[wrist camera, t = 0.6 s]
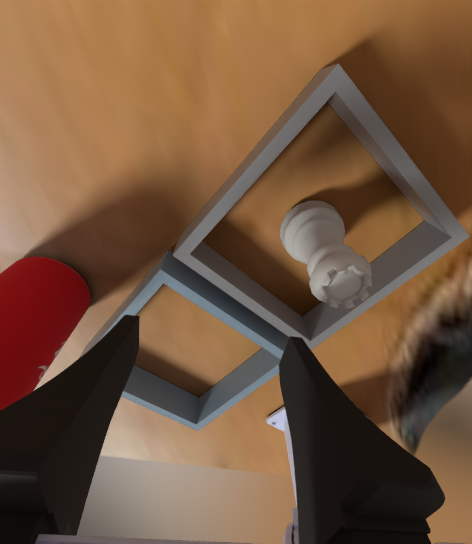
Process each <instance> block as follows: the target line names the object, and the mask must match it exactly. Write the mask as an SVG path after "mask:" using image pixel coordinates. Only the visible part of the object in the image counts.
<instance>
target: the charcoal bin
mask: <svg viewBox="0 0 472 544" xmlns="http://www.w3.org/2000/svg"><path fill="white" fill-rule="evenodd" d="M326 102H328V104H329V105H330V106H331V107H332V108H333V110H334V111H335V112H336V113H337V115H338V116H339V117H340V118H341V119H342V121H343V122H344V123H345V124H346V125H347V127H348V128H349V129H350V130H351V132H352V133H353V134H354V135H355V136H356V138H357V139H358V140H359V141H360V142H361V144H362V145H363V146H364V147H365V149H366V150H367V151H368V152H369V153H370V155H371V156H372V157H373V158H374V159H375V161H376V162H377V163H378V164H379V165H380V167H381V168H382V169H383V170H384V172H385V173H386V174H387V175H388V176H389V178H390V179H391V180H392V181H393V182H394V184H395V185H396V186H397V187H398V189H399V190H400V191H401V192H402V193H403V195H404V196H405V197H406V198H407V199H408V201H409V202H410V203H411V204H412V206H413V207H414V208H415V209H416V210H417V212H418V213H419V214H420V215H421V216H422V218H423V219H424V220H425V221H424V222H422V223H421V224H420V225H419V226H417V227H416V228H415V229H413V230H412V231H411V232H410V233H408V234H407V235H406V236H404V237H403V238H402V239H401V240H399V241H398V242H397V243H396V244H394V245H393V246H392V247H390V248H389V249H388V250H387V251H385V252H384V253H383V254H382V255H380V256H379V257H378V258H376V259H375V260H374V261H373V262H371V263H370V265H371V271H372V276H371V279H372V286H371V287H367V288H366V290H367V291H368V293H369V294H370V295H369V296H368V297H367V298H366V299H365V301H362V300H361V299H360V298H359V297H358V298H357V299H355V300H353V303H354V305H355V307H353V308H349V309H345V307H344V305H343V304H339V306H338V307H337V309H335V308H332V307H329V306H328V304H327V303H326V302H323V301H322V302H320V303H319V304H318V305H317V306H315V307H314V308H313V309H311V310H310V311H309V312H308V313H306V314H305V315H304V316H301V315H299V314H298V313H297V312H295V311H294V310H293V309H291V308H290V307H289V306H287V305H286V304H285V303H283V302H282V301H281V300H279V299H278V298H277V297H275V296H274V295H273V294H271V293H270V292H269V291H267V290H266V289H265V288H263V287H262V286H261V285H260V284H258V283H257V282H256V281H254V280H253V279H252V278H250V277H249V276H248V275H246V274H245V273H244V272H242V271H241V270H240V269H238V268H237V267H236V266H234V265H233V264H232V263H230V262H229V261H228V260H226V259H225V258H224V257H222V256H221V255H220V254H218V253H217V252H216V251H214V250H213V249H212V248H211V247H209V246H208V245H207V244H205V243H204V242H203V241H202V240H203V239H204V238H205V237H206V235H207V234H208V233H209V232H210V231H211V230H212V229H213V228H214V227H215V225H216V224H217V223H218V222H219V221H220V220H221V219H222V218H223V217H224V215H225V214H226V213H227V212H228V211H229V210H230V209H231V208H232V206H233V205H234V204H235V203H236V202H237V201H238V200H239V199H240V198H241V196H242V195H243V194H244V193H245V192H246V191H247V190H248V189H249V188H250V186H251V185H252V184H253V183H254V182H255V181H256V180H257V179H258V177H259V176H260V175H261V174H262V173H263V172H264V171H265V170H266V169H267V167H268V166H269V165H270V164H271V163H272V162H273V161H274V160H275V159H276V157H277V156H278V155H279V154H280V153H281V152H282V151H283V150H284V149H285V147H286V146H287V145H288V144H289V143H290V142H291V141H292V140H293V138H294V137H295V136H296V135H297V134H298V133H299V132H300V131H301V130H302V128H303V127H304V126H305V125H306V124H307V123H308V122H309V121H310V120H311V118H312V117H313V116H314V115H315V114H316V113H317V112H318V111H319V109H320V108H321V107H322V106H323V105H324V104H325V103H326ZM468 237H470V236H469V235H468V233H467V232H466V231H465V229H464V228H463V227H462V225H461V224H460V223H459V221H458V220H457V219H456V218H455V216H454V215H453V214H452V212H451V211H450V210H449V208H448V207H447V206H446V204H445V203H444V202H443V200H442V199H441V198H440V196H439V195H438V194H437V192H436V191H435V190H434V189H433V187H432V186H431V185H430V183H429V182H428V181H427V179H426V178H425V177H424V175H423V174H422V173H421V171H420V170H419V169H418V167H417V166H416V165H415V163H414V162H413V161H412V160H411V158H410V157H409V156H408V154H407V153H406V152H405V150H404V149H403V148H402V146H401V145H400V144H399V142H398V141H397V140H396V138H395V137H394V136H393V134H392V133H391V132H390V131H389V129H388V128H387V127H386V125H385V124H384V123H383V121H382V120H381V119H380V117H379V116H378V115H377V113H376V112H375V111H374V109H373V108H372V107H371V105H370V104H369V103H368V102H367V100H366V99H365V98H364V96H363V95H362V94H361V92H360V91H359V90H358V88H357V87H356V86H355V84H354V83H353V82H352V80H351V79H350V78H349V76H348V75H347V74H346V73H345V71H344V70H343V69H342V67H341V66H340V65H339V63H338V64H335V65H332V66H329V67H325V68H322V69H321V70H320V71H319V72H318V73H317V74H316V76H315V77H314V78H313V79H312V80H311V81H310V83H309V84H308V85H307V86H306V87H305V89H304V90H303V91H302V92H301V93H300V94H299V96H298V97H297V98H296V99H295V100H294V102H293V103H292V104H291V105H290V106H289V107H288V109H287V110H286V111H285V112H284V113H283V115H282V116H281V117H280V118H279V119H278V120H277V122H276V123H275V124H274V125H273V126H272V128H271V129H270V130H269V131H268V132H267V133H266V135H265V136H264V137H263V138H262V139H261V141H260V142H259V143H258V144H257V145H256V146H255V148H254V149H253V150H252V151H251V152H250V153H249V155H248V156H247V157H246V158H245V159H244V161H243V162H242V163H241V164H240V165H239V166H238V168H237V169H236V170H235V171H234V172H233V174H232V175H231V176H230V177H229V178H228V179H227V181H226V182H225V183H224V184H223V185H222V187H221V188H220V189H219V190H218V191H217V192H216V194H215V195H214V196H213V197H212V198H211V200H210V201H209V202H208V203H207V204H206V205H205V207H204V208H203V209H202V210H201V211H200V213H199V214H198V215H197V216H196V217H195V218H194V220H193V221H192V222H191V223H190V224H189V226H188V227H187V228H186V229H185V230H184V231H183V233H182V234H181V235H180V236H179V239H178V241H177V244H176V247H175V250H174V252H173V256H174V257H176V258H177V259H178V260H180V261H181V262H183V263H184V264H186V265H187V266H188V267H190V268H191V269H193V270H194V271H196V272H197V273H198V274H200V275H201V276H203V277H204V278H206V279H207V280H208V281H210V282H211V283H213V284H214V285H216V286H217V287H218V288H220V289H221V290H223V291H224V292H226V293H227V294H228V295H230V296H231V297H233V298H234V299H236V300H237V301H238V302H240V303H241V304H243V305H244V306H246V307H247V308H248V309H250V310H251V311H253V312H254V313H256V314H257V315H258V316H260V317H261V318H263V319H264V320H266V321H267V322H268V323H270V324H271V325H273V326H274V327H276V328H277V329H278V330H280V331H281V332H283V333H284V334H286V335H287V336H288V337H290V336H293V337H301V338H303V340H304V341H305V343H306V344H307V346H308V347H309V348H310V350H312V349H313V348H314V347H316V346H317V345H319V344H320V343H321V342H323V341H324V340H326V339H327V338H328V337H330V336H331V335H333V334H334V333H335V332H337V331H338V330H340V329H341V328H342V327H344V326H345V325H347V324H348V323H349V322H351V321H352V320H354V319H355V318H356V317H358V316H359V315H361V314H362V313H363V312H365V311H366V310H368V309H369V308H370V307H372V306H373V305H375V304H376V303H377V302H379V301H380V300H382V299H383V298H384V297H386V296H387V295H389V294H390V293H391V292H393V291H394V290H396V289H397V288H398V287H400V286H401V285H403V284H404V283H405V282H407V281H408V280H410V279H411V278H412V277H414V276H415V275H416V274H418V273H419V272H421V271H422V270H423V269H425V268H426V267H428V266H429V265H430V264H432V263H433V262H435V261H436V260H437V259H439V258H440V257H442V256H443V255H444V254H446V253H447V252H449V251H450V250H451V249H453V248H454V247H456V246H457V245H458V244H460V243H461V242H463V241H464V240H465V239H467V238H468Z"/></svg>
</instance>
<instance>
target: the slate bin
mask: <svg viewBox="0 0 472 544" xmlns="http://www.w3.org/2000/svg"><path fill="white" fill-rule="evenodd" d="M163 283H164V284H166V285H167V286H169V287H170V288H172V289H173V290H175V291H176V292H178V293H179V294H181V295H182V296H184V297H186V298H187V299H189V300H190V301H192V302H193V303H195V304H196V305H198V306H199V307H201V308H202V309H204V310H206V311H207V312H209V313H210V314H212V315H213V316H215V317H216V318H218V319H219V320H221V321H222V322H224V323H226V324H227V325H229V326H230V327H232V328H233V329H235V330H236V331H238V332H239V333H241V334H243V335H244V336H246V337H247V338H249V339H250V340H252V341H253V342H255V343H256V344H258V345H259V346H261V347H263V348H262V349H260V350H259V351H258V352H257V353H255V354H254V355H253V356H252V357H250V358H249V359H248V360H246V361H245V362H244V363H243V364H241V365H240V366H239V367H237V368H236V369H235V370H234V371H232V372H231V373H230V374H229V375H227V376H226V377H225V378H223V379H222V380H221V381H220V382H218V383H217V384H216V385H215V386H213V387H212V388H211V389H209V390H208V391H207V392H206V393H204V394H203V395H202V396H201V397H197V396H195V395H193V394H191V393H189V392H187V391H185V390H183V389H181V388H179V387H177V386H175V385H173V384H171V383H169V382H167V381H165V380H163V379H161V378H159V377H157V376H155V375H153V374H151V373H149V372H147V371H145V370H143V369H141V368H139V367H137V366H135V365H134V366H133V369H132V371H131V374H130V376H129V379H128V381H127V383H126V386H125V388H124V390H123V393H122V395H121V396H122V397H124V398H126V399H128V400H131V401H133V402H135V403H137V404H139V405H142V406H144V407H146V408H148V409H150V410H153V411H155V412H157V413H159V414H161V415H164V416H166V417H168V418H170V419H173V420H175V421H177V422H179V423H181V424H184V425H186V426H188V427H190V428H192V429H195V430H197V431H198V430H200V429H201V428H203V427H204V426H205V425H207V424H208V423H210V422H211V421H212V420H214V419H215V418H217V417H218V416H219V415H221V414H222V413H223V412H225V411H226V410H228V409H229V408H230V407H232V406H233V405H235V404H236V403H237V402H239V401H240V400H242V399H243V398H244V397H246V396H247V395H249V394H250V393H251V392H253V391H254V390H256V389H257V388H258V387H260V386H261V385H263V384H264V383H265V382H267V381H268V380H270V379H271V378H272V377H274V376H275V375H277V374H278V373H279V363H280V360H281V358H282V355H283V353H284V350H285V347H286V345H287V342H288V340H289V337H288V336H287V335H286V334H284V333H283V332H281V331H280V330H278V329H277V328H276V327H274V326H273V325H271V324H270V323H268V322H267V321H266V320H264V319H263V318H261V317H260V316H258V315H257V314H256V313H254V312H253V311H251V310H250V309H248V308H247V307H246V306H244V305H243V304H241V303H240V302H238V301H237V300H236V299H234V298H233V297H231V296H230V295H228V294H227V293H226V292H224V291H223V290H221V289H220V288H218V287H217V286H216V285H214V284H213V283H211V282H210V281H208V280H207V279H206V278H204V277H203V276H201V275H200V274H198V273H197V272H196V271H194V270H193V269H191V268H190V267H188V266H187V265H186V264H184V263H183V262H181V261H180V260H178V259H177V258H176V257H174V256H173V252H172V251H170V250H169V249H168V250H167V252H166V253H165V254H164V255H163V256H162V257H161V259H160V260H159V261H158V262H157V263H156V265H155V266H154V267H153V268H152V269H151V270H150V272H149V273H148V274H147V275H146V276H145V277H144V279H143V280H142V281H141V282H140V283H139V285H138V286H137V287H136V288H135V289H134V290H133V292H132V293H131V294H130V295H129V296H128V298H127V299H126V300H125V301H124V302H123V303H122V305H121V306H120V307H119V308H118V309H117V311H116V312H115V313H114V314H113V315H112V316H111V318H110V319H109V320H108V321H107V322H106V324H105V325H104V326H103V327H102V328H101V329H100V331H99V332H98V333H97V334H96V335H95V337H94V338H93V339H92V340H91V341H90V342H89V344H88V345H87V346H86V347H85V349H84V351H83V352H82V354H81V356H80V357H82V356H83V355H84V354H85V353H86V352H87V351H89V350H90V349H91V348H92V347H93V346H94V345H95V344H96V343H97V342H98V341H100V340H101V339H102V338H103V337H104V336H105V335H106V334H107V333H108V332H109V331H110V330H111V329H112V328H113V327H114V326H115V325H116V324H117V323H118V322H119V320H120V319H121V318H122V317H123V316H124V315H133V316H135V315H136V314H137V312H138V311H139V310H140V309H141V308H142V307H143V306H144V305H145V303H146V302H147V301H148V300H149V299H150V298H151V297H152V296H153V295H154V293H155V292H156V291H157V290H158V289H159V288H160V287H161V286H162V285H163Z"/></svg>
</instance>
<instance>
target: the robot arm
mask: <svg viewBox="0 0 472 544" xmlns="http://www.w3.org/2000/svg"><path fill="white" fill-rule="evenodd" d="M138 349H139V316H133V315H124V316H123V317H122V318H121V319H120V320H119V322H118V323H117V324H116V325H115V326H114V327H113V328H112V329H111V330H110V331H109V332H108V333H107V334H106V335H105V336H104V337H103V338H102V339H101V340H100V341H98V342H97V343H96V344H95V345H94V346H93V347H92V348H91V349H90V350H89V351H87V352H86V353H85V354H84V355H83V356H82V357H80V358H79V359H78V360H77V361H76V362H74V363H73V364H72V365H70V366H69V367H68V368H67V369H65V370H64V371H62V372H61V373H60V374H58V375H57V376H56V377H54V378H53V379H51V380H50V381H48V382H47V383H45V384H44V385H42V386H41V387H39V388H38V389H36V390H35V391H33V392H31V393H30V394H28V395H26V396H25V397H23V398H21V399H19V400H18V401H16V402H14V403H13V404H11V405H9V406H7V407H6V408H4V409H2V410H0V544H250V543H228V542H206V541H205V542H204V541H182V540H159V539H137V538H116V537H93V536H76V535H77V530H78V527H79V524H80V520H81V517H82V513H83V509H84V506H85V502H86V499H87V495H88V492H89V489H90V485H91V482H92V478H93V475H94V472H95V468H96V465H97V462H98V459H99V455H100V452H101V449H102V446H103V443H104V440H105V436H106V433H107V430H108V427H109V424H110V422H111V419H112V416H113V414H114V411H115V409H116V407H117V404H118V402H119V400H120V397H121V395H122V393H123V390H124V388H125V386H126V383H127V381H128V379H129V376H130V374H131V371H132V369H133V366H134V362H135V359H136V356H137V352H138ZM279 375H280V386H281V391H282V396H283V401H284V407H282V408H281V409H279V410H278V411H276V412H275V413H273V414H272V415H270V416H268V417H267V418H266V421H267V423H268V424H270V425H272V426H274V427H276V428H278V429H280V430H282V431H283V432H284V433H285V439H286V445H287V451H288V457H289V463H290V469H291V475H292V481H293V487H294V493H295V499H296V505H297V508H294V509H292V517H293V522H290V523H289V524H288V525H287V527H286V531H285V534H284V537H283V544H431V542H430V540H429V538H428V535H427V534H429V533H430V528H429V526H428V523H427V521H426V518H427V517H429V516H430V515H431V514H433V513H434V512H435V511H437V510H438V509H439V508H440V507H441V506H442V505H443V503H444V500H445V496H444V493H443V491H442V489H441V488H440V486H439V484H438V482H437V480H436V478H435V477H434V475H433V473H432V471H431V470H430V468H429V467H428V466H426V465H425V464H424V463H422V462H421V461H420V460H418V459H417V458H416V457H414V456H413V455H411V454H410V453H409V452H407V451H406V450H405V449H403V448H402V447H401V446H400V445H398V444H397V443H396V442H395V441H393V440H392V439H391V438H390V437H389V436H387V435H386V434H385V433H384V432H383V431H382V430H380V429H379V428H378V427H377V426H376V425H375V424H374V423H373V422H372V421H371V420H369V418H368V417H367V416H366V415H364V414H363V413H362V412H361V411H360V410H359V409H358V408H357V407H356V406H355V405H354V404H353V403H352V402H351V400H350V399H349V398H348V397H347V396H346V395H345V394H344V393H343V392H342V390H341V389H340V388H339V387H338V386H337V384H336V383H335V382H334V381H333V380H332V378H331V377H330V376H329V375H328V373H327V372H326V371H325V369H324V368H323V367H322V365H321V364H320V363H319V361H318V360H317V358H316V357H315V356H314V354H313V353H312V351H311V350H310V348H309V347H308V346H307V344H306V343H305V341H304V340H303V338H301V337H293V336H290V337H289V340H288V342H287V345H286V347H285V350H284V353H283V355H282V358H281V360H280V363H279ZM436 544H462V543H436Z"/></svg>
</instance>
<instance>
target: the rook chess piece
mask: <svg viewBox="0 0 472 544" xmlns="http://www.w3.org/2000/svg"><path fill="white" fill-rule="evenodd" d="M344 236H345V228H344V223H343V219H342V218H341V217H340V215H339V213H338V212H337V211H336V209H335V208H334V207H333V206H332V205H330V204H328V203H326V202H324V201H307V202H304V203H301V204H298V205H297V206H295V207H294V208H293V209H292V210H291V211H289V212H288V213H287V215H286V216H285V218H284V220H283V222H282V223H281V229H280V238H281V241H282V244H283V246H284V247H285V249H286V251H287V252H288V253H289V254H290V255H291V256H292V257H293V258H294V259H296V260H298V261H300V262H303V263H306V264H307V265H308V266H307V271H308V274H309V277H310V282H309V285H310V288H311V292H312V294H313V295H314V296H315V297H316V298H317V299H318V300H320V301H323V302H326V303H327V304H328V306H329V307H332V308H335V309H337V307H338V306H339V304H343V305H344V307H345V309H349V308H353V307H355V305H354V303H353V300H355V299H357V298H358V297H359V298H360V299H361V300H362V301H365V299H366V298H367V297H368V296H369V295H370V294H369V293H368V291H367V290H366V288H367V287H371V286H372V279H371V276H372V271H371V265H370V264H369V262H368V261H367V260H366V259H365V257H363V256H361V255H359V254H356V253H355V252H354V251H353V250H352V249H351V247H349V246H347V245H345V244H344V242H343V240H344Z"/></svg>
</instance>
